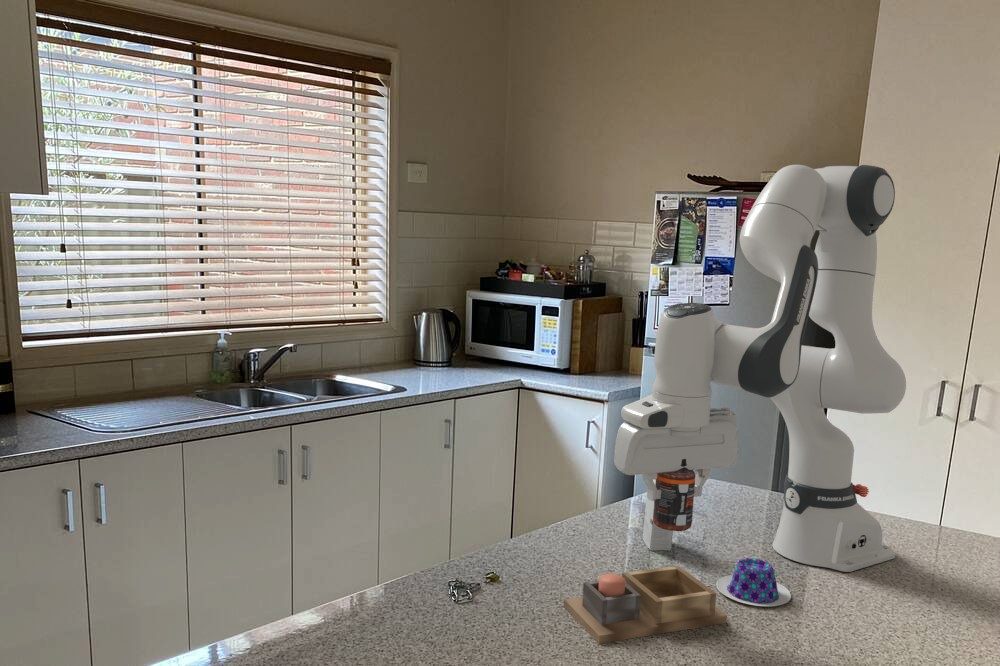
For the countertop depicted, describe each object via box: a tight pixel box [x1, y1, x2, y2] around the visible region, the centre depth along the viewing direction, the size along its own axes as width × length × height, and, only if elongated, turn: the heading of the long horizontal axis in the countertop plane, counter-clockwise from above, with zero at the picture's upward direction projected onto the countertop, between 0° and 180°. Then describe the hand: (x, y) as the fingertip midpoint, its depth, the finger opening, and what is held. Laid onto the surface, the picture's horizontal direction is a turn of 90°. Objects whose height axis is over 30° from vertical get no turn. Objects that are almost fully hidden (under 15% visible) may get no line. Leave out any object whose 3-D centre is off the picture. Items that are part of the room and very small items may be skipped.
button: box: [598, 573, 626, 598], centre depth 126 cm, size 4×4×3 cm
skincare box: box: [642, 480, 674, 551], centre depth 156 cm, size 6×4×12 cm
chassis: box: [563, 565, 728, 644], centre depth 129 cm, size 22×12×5 cm, turn 111°
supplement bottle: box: [653, 459, 696, 532], centre depth 128 cm, size 6×6×11 cm
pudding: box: [716, 557, 792, 607], centre depth 138 cm, size 12×12×5 cm
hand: (674, 497), depth 128 cm, fingers closed on supplement bottle, 6 cm apart
